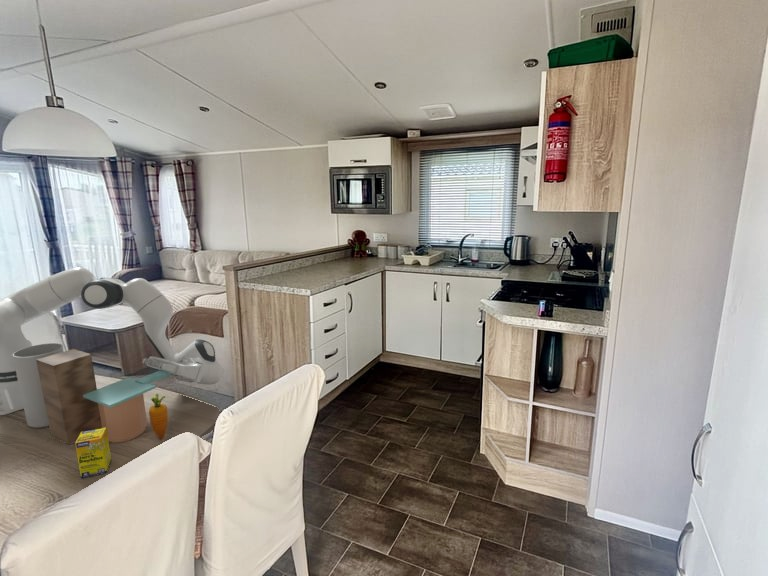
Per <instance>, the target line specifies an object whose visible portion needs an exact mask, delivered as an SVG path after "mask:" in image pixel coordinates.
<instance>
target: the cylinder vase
mask: <svg viewBox="0 0 768 576" xmlns="http://www.w3.org/2000/svg"><path fill="white" fill-rule="evenodd" d="M61 352H65V351H64V347H63V344H61V343H54V342H53V343H50V342H49V343H42V344H36V345H32V346H31V347H27V348H23V349H21V350H18V351H16V352H14V353H13V360H14V364H15V369H16V374H17V378H18V383H19V388H20V393H21V397H22V402H23V407H24V409H23V410H24V411H23V412H24V415H25V416H24V417H25V421H26V424H27V426H28V427H31V428H35V429H37V428H46V427H49V422H48V417H47V412H46V407H45V402H44V397H43V392H42V387H41V382H40V377H39V372H38V367H37V362H36V360H37V359H40V358H44V357H47V356H51V355H54V354H58V353H61Z"/></svg>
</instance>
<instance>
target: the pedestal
mask: <svg viewBox="0 0 768 576" xmlns="http://www.w3.org/2000/svg"><path fill="white" fill-rule="evenodd" d="M36 362H37V367H38V372H39V377H40V382H41V387H42V392H43V397H44V402H45V407H46V412H47V417H48V422H49V426H48V427H49V431H50V436H51V437H52V438H54V439H55V440H58V441H60V440H61V441H60V442H62V441H63V442H62V443H64V442H65V443H64V444H66V445H68V446H69V445H72V444H74V443H75V442H74V441H76V440H77V439H78V437H79V435H80V433H81V432H83V431H90V430H96V429H101V428H102V424H101V418H100V412H99V406H98V403H97V402H94V401H92V400H89V399H87V398H84V397H83V395H84V394H87V393H89V392H92V391H94V390H97V389H98V387H97V382H96V381H97V380H96V377H95V370H94V362H93V356H92V354H91V353H89V352H84V351H81V350H78V349H75V348H72V349H69V350H65V351H64V352H61V353H58V354H54V355H51V356H47V357H44V358H40V359H37V360H36ZM73 442H74V443H73ZM71 443H72V444H71Z"/></svg>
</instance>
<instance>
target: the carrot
mask: <svg viewBox="0 0 768 576" xmlns="http://www.w3.org/2000/svg"><path fill="white" fill-rule="evenodd" d="M165 398H166V395H163V396H161V397H160V399H159V393H156V394H155V396H154V397H152V398H151V401H152V403H153V404H154V405H152V406H151V407H150V408H149V410H148V415H149V420H150V421H149V422H150V425H151V428H152V430H153V433H154V434H155V435H156V437H158V438H159V439H161V440H163V439H164V438H165V435H166V432H167V427H168V419H169V418H168V416H169V415H168V407H167V405H166V404H164V403H162V400H164V399H165Z"/></svg>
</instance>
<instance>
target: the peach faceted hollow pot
mask: <svg viewBox="0 0 768 576" xmlns="http://www.w3.org/2000/svg"><path fill="white" fill-rule="evenodd" d="M98 406H99V412H100V418H101V424H102V428H105V427H106V428H107V435H108V441H109V443H113V444H115V443H117V444H119V443H124V442H127V441H131V440H133V439H136V438H138V437H139V436H141V435H143V433H144V432H146V430H147V426H148V420H147V413H146V412H147V411H146V406H145V398H144V393H143V394H141V395H139V396H136V397H134V398H132V399H129V400H127V401H125V402H123V403H120V404H118V405H116V406H113V407H111V408H110V407H107V406H105V405H102V404H99V403H98Z"/></svg>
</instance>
